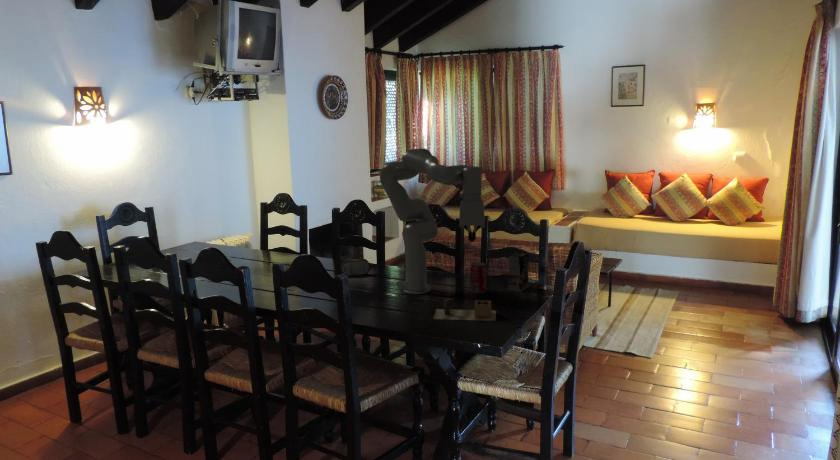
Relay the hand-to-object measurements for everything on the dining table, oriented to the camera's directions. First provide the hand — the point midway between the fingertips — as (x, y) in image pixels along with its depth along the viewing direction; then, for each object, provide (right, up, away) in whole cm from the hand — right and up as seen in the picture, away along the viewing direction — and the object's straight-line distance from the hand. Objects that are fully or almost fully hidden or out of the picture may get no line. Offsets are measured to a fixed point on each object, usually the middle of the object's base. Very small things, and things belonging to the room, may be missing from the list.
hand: (472, 241), depth 248 cm
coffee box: (+23, -22, +26) cm, 41 cm away
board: (-4, -30, -11) cm, 32 cm away
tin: (-54, -18, +54) cm, 78 cm away
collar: (+3, -29, -12) cm, 31 cm away
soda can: (+5, -23, +22) cm, 33 cm away
